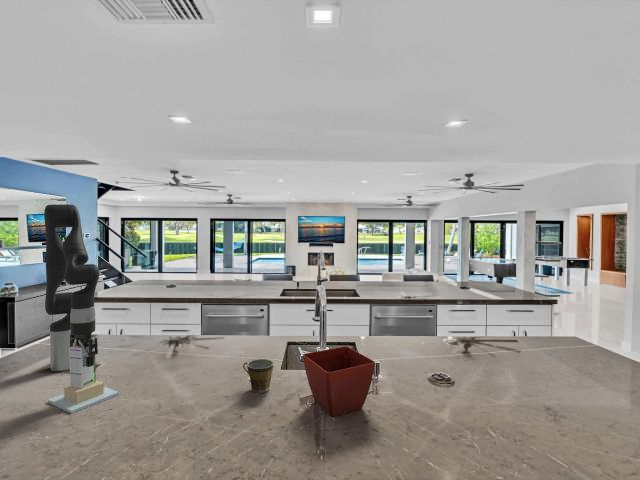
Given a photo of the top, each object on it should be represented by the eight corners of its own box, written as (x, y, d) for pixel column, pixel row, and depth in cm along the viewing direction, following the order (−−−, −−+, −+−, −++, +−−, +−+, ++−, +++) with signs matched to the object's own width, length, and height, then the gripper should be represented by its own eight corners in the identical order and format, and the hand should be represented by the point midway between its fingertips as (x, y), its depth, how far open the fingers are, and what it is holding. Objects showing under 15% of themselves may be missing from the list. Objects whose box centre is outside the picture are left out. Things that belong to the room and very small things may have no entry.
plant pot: (326, 425, 113) (327, 372, 112) (301, 399, 130) (301, 353, 129) (376, 411, 122) (376, 362, 121) (346, 389, 139) (346, 345, 138)
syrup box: (82, 388, 127) (81, 348, 126) (69, 386, 128) (68, 346, 128) (96, 382, 132) (95, 343, 132) (83, 380, 134) (83, 341, 133)
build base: (48, 402, 127) (47, 388, 127) (95, 385, 141) (94, 372, 141) (71, 413, 119) (71, 398, 119) (118, 394, 133) (118, 381, 133)
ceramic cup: (278, 386, 141) (278, 361, 140) (263, 397, 131) (263, 370, 131) (251, 380, 146) (250, 356, 146) (235, 390, 137) (235, 364, 137)
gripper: (61, 319, 130) (62, 363, 130) (82, 324, 123) (83, 371, 123) (83, 315, 136) (84, 357, 137) (104, 319, 129) (105, 364, 130)
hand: (83, 364), depth 130 cm, fingers open, 8 cm apart
